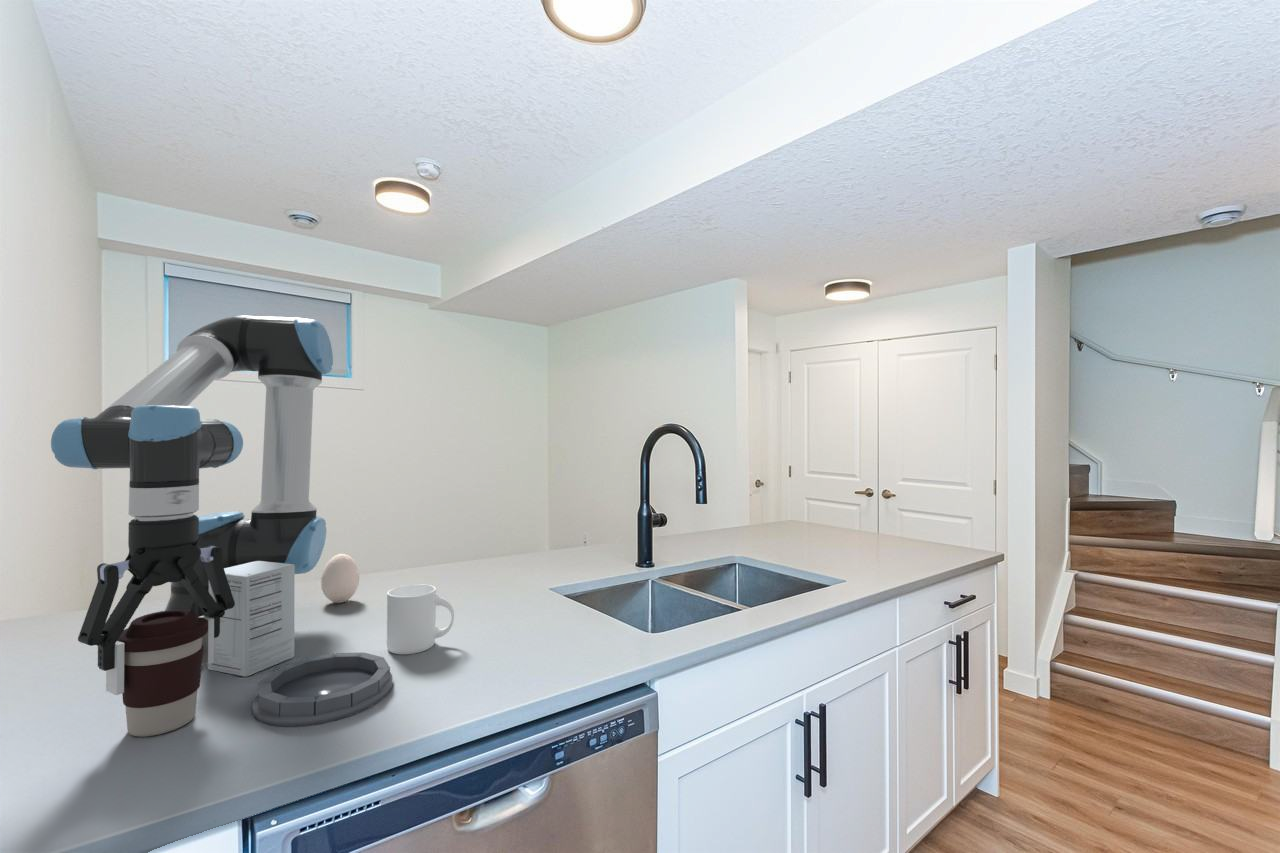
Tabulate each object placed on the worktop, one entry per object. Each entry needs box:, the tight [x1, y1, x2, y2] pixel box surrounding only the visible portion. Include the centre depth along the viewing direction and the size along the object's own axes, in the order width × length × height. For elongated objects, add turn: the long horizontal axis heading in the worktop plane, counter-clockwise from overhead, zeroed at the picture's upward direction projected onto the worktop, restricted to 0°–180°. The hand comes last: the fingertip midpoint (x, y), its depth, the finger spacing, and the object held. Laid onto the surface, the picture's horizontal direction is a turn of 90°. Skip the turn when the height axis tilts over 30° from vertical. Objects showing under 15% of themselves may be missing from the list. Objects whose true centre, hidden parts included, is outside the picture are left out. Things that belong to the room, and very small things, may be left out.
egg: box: [320, 553, 360, 604], centre depth 134 cm, size 8×8×11 cm
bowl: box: [251, 652, 393, 728], centre depth 89 cm, size 19×19×3 cm
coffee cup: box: [117, 609, 208, 738], centre depth 79 cm, size 10×10×15 cm
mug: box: [386, 583, 455, 656], centre depth 109 cm, size 9×12×11 cm
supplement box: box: [207, 561, 296, 678], centre depth 100 cm, size 10×9×17 cm
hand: (162, 675), depth 79 cm, fingers closed on coffee cup, 10 cm apart
